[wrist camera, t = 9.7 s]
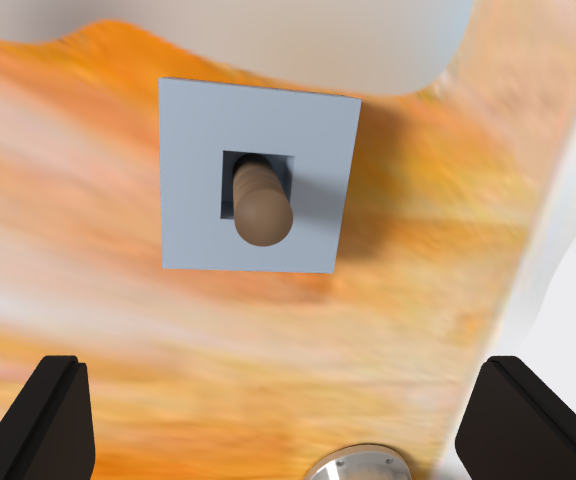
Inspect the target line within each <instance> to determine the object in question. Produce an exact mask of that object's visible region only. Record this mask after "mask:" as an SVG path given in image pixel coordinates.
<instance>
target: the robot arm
mask: <svg viewBox="0 0 576 480" xmlns="http://www.w3.org/2000/svg"><path fill="white" fill-rule="evenodd" d="M455 449H456V452H457V455H458V457H459V458H460V460H461V462H462V463H463V465H464V467H465V468H466V470H467V472H468V473H469V475H470V477H471V478H472V480H576V414H575V413H574V412H573V411H572V410H571V409H570V408H569V407H568V406H567V405H566V404H565V403H564V402H563V401H562V400H561V399H560V398H559V397H558V396H557V395H556V394H555V393H554V392H553V391H552V390H551V389H550V388H549V387H548V386H547V385H546V384H545V383H544V382H543V381H542V380H541V379H540V378H539V377H538V376H537V375H535V373H534V372H533V371H532V370H531V369H530V368H528V367H527V366H526V365H525V364H524V363H523V362H522V361H521V360H520V359H519V358H517V357H515V356H491V357H490V358H488V360H487V362H485V363H483V365H482V367H481V369H480V372H479V375H478V378H477V380H476V383H475V386H474V389H473V391H472V394H471V397H470V400H469V402H468V405H467V408H466V411H465V413H464V416H463V419H462V422H461V424H460V427H459V430H458V433H457V435H456V438H455ZM94 464H95V443H94V433H93V423H92V413H91V403H90V393H89V384H88V374H87V366H86V363H78V359H77V357H76V356H45V357H43V359H42V360H41V361H40V363H39V364H38V366H37V367H36V369H35V370H34V372H33V373H32V375H31V376H30V378H29V379H28V381H27V382H26V384H25V385H24V387H23V388H22V390H21V391H20V393H19V395H18V396H17V398H16V399H15V401H14V402H13V404H12V405H11V407H10V408H9V410H8V411H7V413H6V414H5V416H4V417H3V419H2V420H1V422H0V480H90V478H91V475H92V472H93V468H94ZM304 480H411V473H410V471H409V468H408V466H407V464H406V462H405V460H404V459H403V457H402V456H400V455H399V454H398V453H397V452H395V451H393V450H391V449H389V448H386V447H383V446H378V445H357V446H352V447H347V448H344V449H341V450H338V451H336V452H334V453H332V454H330V455H328V456H326V457H325V458H323V459H322V460H320V461H319V462H318V463H317V464H316V465H315V466H313V467H312V468H311V470H310V471H309V472H308V474H307V475H306V477H305V479H304Z"/></svg>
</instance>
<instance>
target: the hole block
mask: <svg viewBox="0 0 576 480" xmlns="http://www.w3.org/2000/svg"><path fill="white" fill-rule="evenodd" d="M158 85H159V135H160V185H161V235H162V268H168V269H202V270H236V271H270V272H304V273H333V272H334V266H335V260H336V254H337V248H338V242H339V235H340V229H341V223H342V217H343V211H344V205H345V199H346V193H347V187H348V181H349V175H350V169H351V162H352V156H353V150H354V144H355V138H356V132H357V126H358V120H359V114H360V108H361V102H362V99H357V98H353V97H348V96H343V95H334V94H325V93H315V92H306V91H297V90H287V89H278V88H268V87H259V86H250V85H240V84H231V83H222V82H212V81H203V80H193V79H184V78H175V77H163V78H158ZM248 153H257V154H261V155H263V156H264V157H266V158H267V159H268V160H269V162H270V163H271V165H272V167H273V169H274V171H275V174H276V176H277V178H278V180H279V182H280V184H281V187H282V189H283V191H284V193H285V195H286V197H287V200H288V202H289V204H290V206H291V209H292V212H293V225H292V228H291V230H290V232H289V233H288V235H287V236H286V237H285V238H284V239H283V240H282V241H280V242H279V243H277V244H274V245H271V246H266V247H260V246H254V245H252V244H249V243H248V242H246V241H245V240H243V239H242V238H241V236H240V235H239V234H238V232H237V230H236V228H235V223H234V200H233V167H234V164H235V163H236V161H237V160H238V159H239V158H240V157H241V156H243V155H245V154H248Z"/></svg>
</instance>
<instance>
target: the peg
mask: <svg viewBox="0 0 576 480" xmlns="http://www.w3.org/2000/svg"><path fill="white" fill-rule="evenodd" d="M233 200H234V223H235V228H236V230H237V232H238V234H239V235H240V236H241V238H242V239H243V240H245V241H246V242H248V243H249V244H252V245H254V246H260V247H266V246H271V245H274V244H277V243H279V242H280V241H282V240H283V239H284V238H285V237H286V236H287V235H288V233H289V232H290V230H291V228H292V225H293V212H292V209H291V206H290V204H289V202H288V200H287V197H286V195H285V193H284V191H283V189H282V187H281V184H280V182H279V180H278V178H277V176H276V174H275V171H274V169H273V167H272V165H271V163H270V162H269V160H268V159H267V158H266V157H264V156H263V155H261V154H257V153H248V154H245V155H243V156H241V157H240V158H239V159H238V160H237V161H236V163H235V164H234V167H233Z"/></svg>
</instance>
